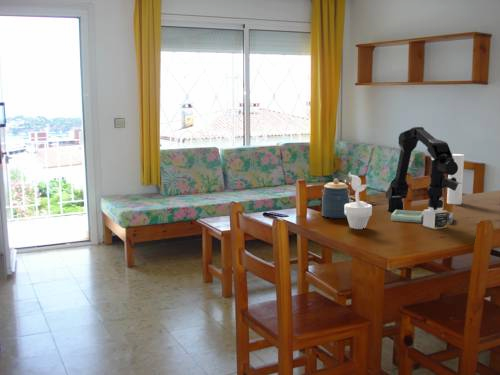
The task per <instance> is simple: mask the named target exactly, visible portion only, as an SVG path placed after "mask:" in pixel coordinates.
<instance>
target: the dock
mask: <svg viewBox="0 0 500 375" xmlns="http://www.w3.org/2000/svg"><path fill="white" fill-rule="evenodd" d="M453 219H454V212H450V211H449V212H448V215H447V220H448V225H452V223H453V221H454V220H453Z"/></svg>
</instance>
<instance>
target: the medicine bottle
mask: <svg viewBox="0 0 500 375" xmlns="http://www.w3.org/2000/svg"><path fill="white" fill-rule="evenodd" d="M427 204H428V208H427V209H423V212H424V213H423V220H422V226H423V227H426V228H429V229H433V230H438V229H444V228H447V227H448V219H447V215H448V210H444V200H443V199H441V198H440V199H439V202H438V206H437V210H434V209H433V206H432V203H431V201H430V199H428V203H427Z"/></svg>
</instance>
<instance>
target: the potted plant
mask: <svg viewBox="0 0 500 375" xmlns="http://www.w3.org/2000/svg"><path fill="white" fill-rule="evenodd" d="M347 175H348V177H349V178H351V182H350V181H349V182H348V184H349V185H350V186H351V188H352V190H353V191H354V192H355V193H354V195H355V196H354V197H355V201H353V202H350V203H348V204H345V205H344V214H345V215H346V216H347V218H346V219H347V222H348V225H349V228H351V229H353V228H354V230H364V229H365V228H366V227H367V224H368V222H369V219H370V217H372V215H373V205H372V204H370V203H368V202H365V201H363V200H360V192H363V191H364V190H366V188H367V187H370V186H371V184H362V179H361V178H360V177H359V176H358V175H354V174H352V173H351V172H348V173H347ZM346 182H347V180H346V179H344V183H346ZM363 228H364V229H363Z"/></svg>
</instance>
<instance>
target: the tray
mask: <svg viewBox="0 0 500 375" xmlns="http://www.w3.org/2000/svg"><path fill="white" fill-rule="evenodd" d="M423 213H424V210H422V211H420V210H395V211H394V212H392V213H391V215H390V221H391V222H393V221H395V222H405V223H418V224H420V223H421V224H422V223H423Z"/></svg>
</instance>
